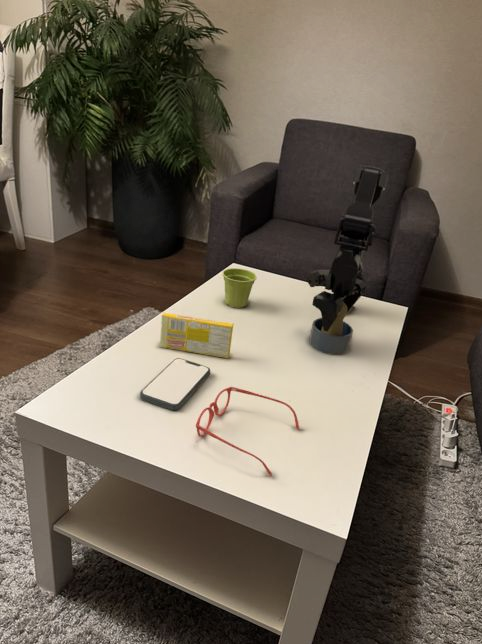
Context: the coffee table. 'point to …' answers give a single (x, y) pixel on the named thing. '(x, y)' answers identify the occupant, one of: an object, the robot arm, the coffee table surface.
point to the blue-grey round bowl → (330, 339)
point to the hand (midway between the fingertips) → (333, 324)
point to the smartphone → (175, 384)
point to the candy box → (196, 335)
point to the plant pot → (238, 286)
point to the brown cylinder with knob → (337, 323)
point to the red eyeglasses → (216, 409)
